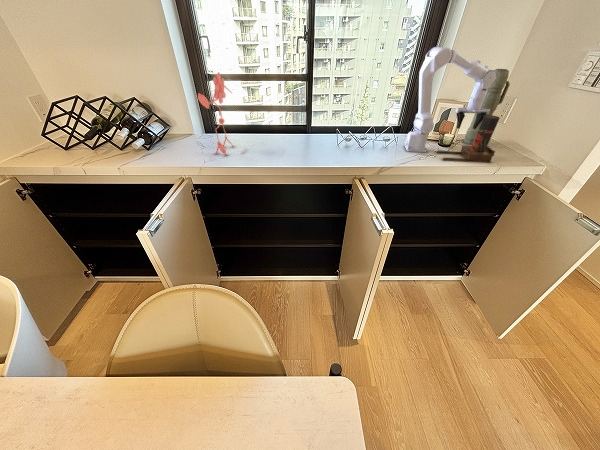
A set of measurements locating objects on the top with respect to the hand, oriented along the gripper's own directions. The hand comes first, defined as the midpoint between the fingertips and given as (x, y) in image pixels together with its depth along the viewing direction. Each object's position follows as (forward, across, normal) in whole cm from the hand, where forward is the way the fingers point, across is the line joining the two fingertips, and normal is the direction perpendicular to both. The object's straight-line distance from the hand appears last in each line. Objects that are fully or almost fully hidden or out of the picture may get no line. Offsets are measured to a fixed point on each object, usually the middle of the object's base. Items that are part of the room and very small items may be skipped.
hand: (465, 128), depth 129 cm
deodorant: (+7, +4, -12) cm, 14 cm away
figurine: (+11, -117, -20) cm, 119 cm away
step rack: (+10, -2, -12) cm, 16 cm away
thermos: (+11, +11, +11) cm, 19 cm away
